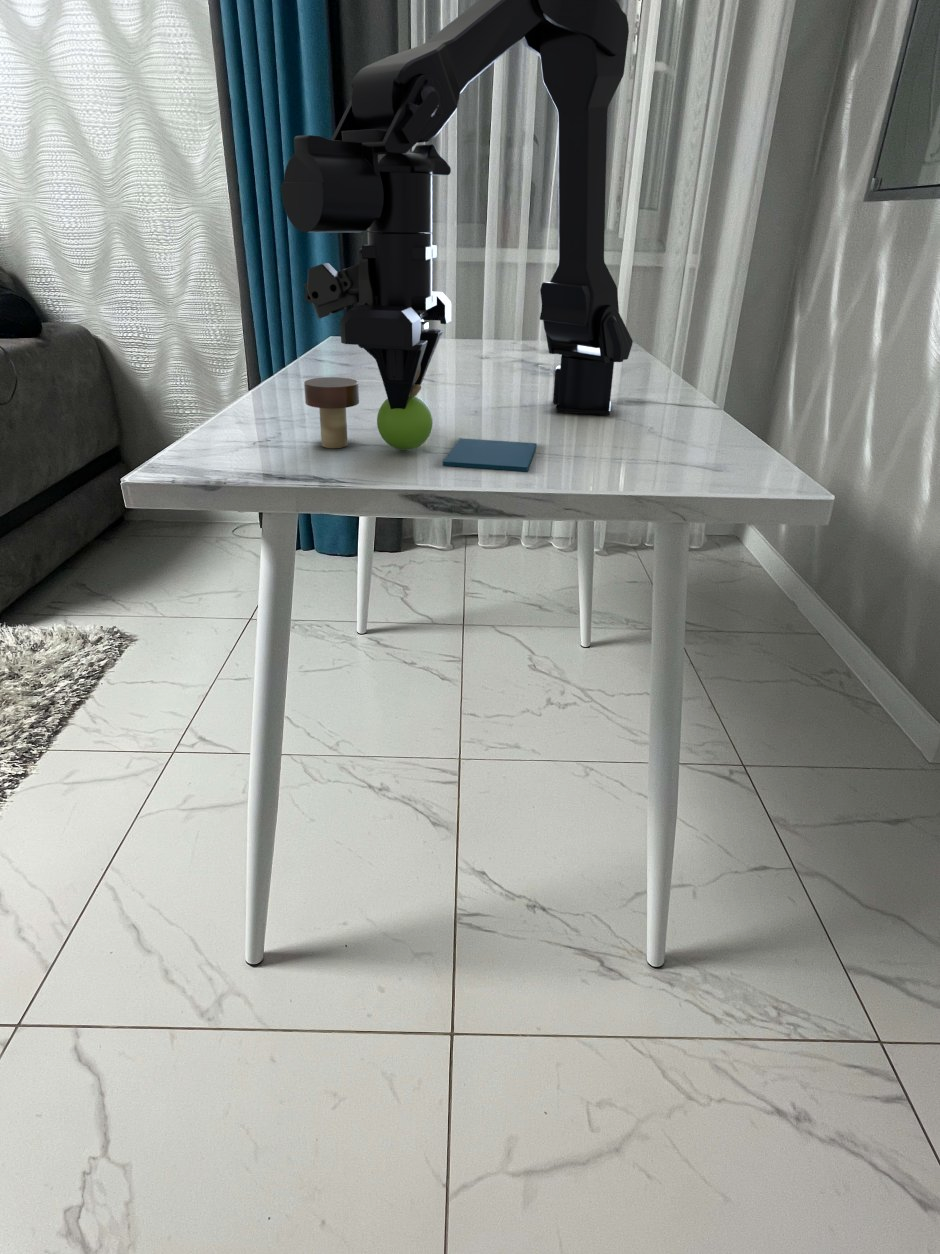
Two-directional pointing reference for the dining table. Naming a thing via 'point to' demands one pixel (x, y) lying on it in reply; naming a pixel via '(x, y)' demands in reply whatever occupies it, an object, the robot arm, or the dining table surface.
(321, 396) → the mushroom
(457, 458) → the flat rectangular board
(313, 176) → the robot arm
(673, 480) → the dining table surface
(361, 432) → the dining table surface
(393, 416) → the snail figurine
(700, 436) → the dining table surface
